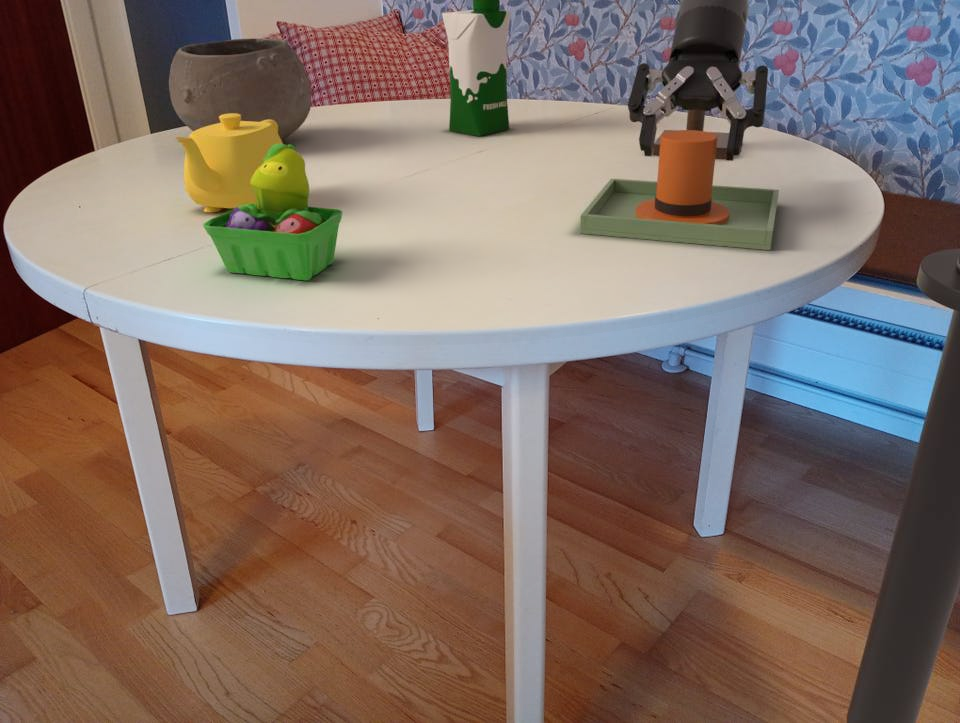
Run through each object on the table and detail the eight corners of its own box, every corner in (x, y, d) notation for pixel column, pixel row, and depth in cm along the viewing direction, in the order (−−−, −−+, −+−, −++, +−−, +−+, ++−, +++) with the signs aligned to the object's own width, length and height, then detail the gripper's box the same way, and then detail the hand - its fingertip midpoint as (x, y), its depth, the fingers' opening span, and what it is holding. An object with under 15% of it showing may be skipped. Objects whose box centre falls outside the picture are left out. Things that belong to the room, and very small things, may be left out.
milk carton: (480, 138, 129) (476, -1, 120) (440, 131, 134) (434, -2, 125) (517, 129, 134) (517, -4, 125) (477, 122, 140) (474, -6, 131)
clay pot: (319, 153, 122) (307, 46, 115) (173, 164, 119) (151, 54, 112) (314, 126, 141) (303, 32, 134) (187, 135, 137) (169, 39, 130)
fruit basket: (207, 276, 78) (185, 157, 73) (258, 246, 86) (241, 136, 81) (312, 288, 75) (297, 164, 70) (356, 256, 82) (345, 142, 77)
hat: (689, 197, 96) (697, 122, 92) (748, 220, 88) (759, 139, 84) (617, 210, 92) (622, 132, 88) (672, 235, 84) (679, 151, 80)
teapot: (233, 234, 89) (216, 134, 84) (152, 225, 93) (132, 129, 88) (319, 190, 104) (309, 103, 99) (247, 184, 108) (233, 99, 103)
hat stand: (731, 143, 122) (741, 57, 116) (725, 158, 114) (735, 67, 108) (663, 139, 125) (670, 56, 119) (652, 154, 117) (659, 66, 111)
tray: (776, 206, 93) (779, 189, 92) (770, 250, 81) (773, 231, 80) (610, 194, 99) (610, 178, 98) (579, 233, 87) (580, 215, 86)
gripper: (775, 50, 92) (756, 177, 88) (648, 48, 97) (624, 169, 92) (780, 2, 85) (759, 138, 81) (643, 3, 90) (617, 131, 86)
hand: (687, 154), depth 87 cm, fingers open, 8 cm apart
